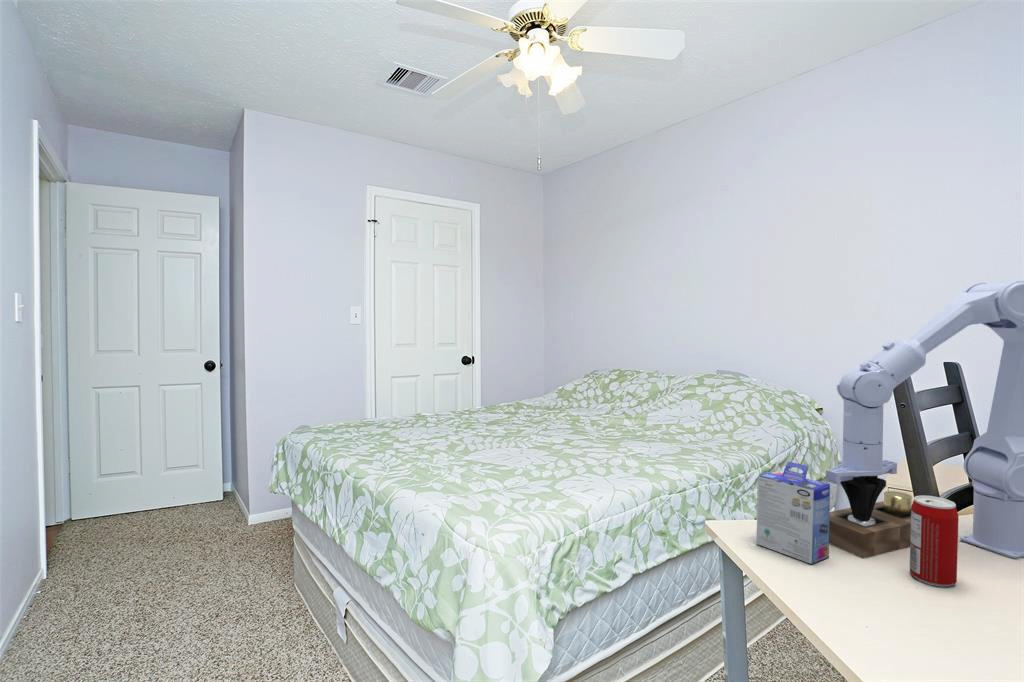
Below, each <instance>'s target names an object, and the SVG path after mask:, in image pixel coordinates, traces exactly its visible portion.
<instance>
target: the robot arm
mask: <svg viewBox="0 0 1024 682" xmlns="http://www.w3.org/2000/svg"><path fill="white" fill-rule="evenodd" d="M980 324H981V325H984V326H986V327H988V328H990V329H991V330H992V331H993V332H994V333H995V334H996V335H997V336H998V337H999V338H1001V339H1002V341H1003V344H1002V350H1001V355H1000V361H999V365H998V366H999V367H998V371H997V376H996V383H995V387H994V393H993V397H992V398H993V399H992V401H991V408H990V413H989V418H988V424H987V429H986V432H985V433H983V434H981V435H980V436H977V437H976V438H975V439H974V440H973V445H972V447H971V450H970V451H969V452H968V453H967V454H966V456H965V459H964V461H963V470H964V472H965V474H966V476H967V477H968V478H970V480H971V486H972V487H973V507H972V508H973V510H972V533H970V534H965V535H963V536H962V535H961V536H959V540H960V541H963V542H965V543H968V544H971V545H974V546H977V547H979V548H982V549H985V550H989V551H992V552H995V553H997V554H1000V555H1004V556H1006V557H1009V558H1012V559H1019V558H1021V557H1024V280H1023V279H1022V280H1021V279H1020V280H1014V281H1007V282H994V283H993V282H991V283H986V282H979V283H974V284H971V285H970V286H968V287H967V288H966V289H965V290H963V292H960V293H959V294H957V295H955V296H954V297H953V298H952V300H951V302H950V303H949V304H948V305H947V306H946V307H945V308H943V309H942V310H941V311H940V312H939V313H938V314H936V315H935V317H933V318H932V319H931V320H930V321H928V322H927V323H926V324H925V325H924V326H923V327H921V328H920V329H919V330H918V331H917V332H916V333H914V334H913V335H912V336H911V337H910V338H909V339H908V340H907V339H906V340H905V339H895V340H894V341H886V342H885V343H884V344H883V345H882V346H881V347H882V348H883V350H881V351H880V352H878V353H877V354H876V355H874V356H873V357H872V358H870V359H869V360H868V361H862V362H861V363H860V364H859V366H860V368H859V369H851V370H849V371H847V372H845V373H844V374H843V375H842V377H841V379H840V381H839V384H837V385H836V391H837V394H838V396H840V398H841V399H842V400H843V412H842V413H843V414H842V415H843V418H842V422H843V423H842V425H843V426H842V429H843V430H842V460H838V461H837V465H836V466H834V467H832V468H828V469H826V470H825V480H826V482H827V483H832V484H835V485H839V484H840V485H841V487H842V489H843V490H844V492H845V494H846V497H847V499H848V503H849V505H850V507H849V508H851V510H852V514H853V517H854V518H856V519H859V520H862V521H868V520H870V518H871V515H872V511H873V508H874V506H875V503H877V500H878V498H879V496H880V494H881V493H882V492H883V490H884V489H885V488H886V486H887V480H885V479H883V478H879V477H878V476H882V475H886V474H890V475H896V474H897V473H898V463H897V462H894V461H891V460H888V459H887V460H886V459H884V460H883V456H884V455H883V454H884V453H883V450H884V448H883V447H884V404H887V403H889V401H890V400H891V399H892V396H893V392H894V389H896V388H897V387H898V386H900V384H901V383H903V382H904V381H906V380H907V379H908V378H909V377H911V376H912V375H914V374H915V373H916V372H918V371H919V370H920V369H921V368H923V367H924V366H925V365H926V362H927V361H926V358H927V356H926V355H927V354H928V353H930V352H931V351H933V350H934V349H937V347H939V346H940V345H942V344H944V343H945V342H947V341H948V340H949V339H951V338H952V337H954V336H955V335H957V334H958V333H960V332H961V331H963V330H964V329H966V328H967V327H969V326H972V325H980Z"/></svg>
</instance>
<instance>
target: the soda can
mask: <svg viewBox="0 0 1024 682" xmlns="http://www.w3.org/2000/svg"><path fill="white" fill-rule="evenodd" d="M958 544H959V513H958V509H957V505H956V503H955V502H954V501H951V500H950V499H947V498H943V497H939V496H934V495H916V496H914V497H913V501H912V506H911V539H910V547H909V548H910V549H909V572H910V573H911V575H912V576H913V577H914V578H915V579H916V580H917V581H919V582H921V583H924V584H927V585H930V586H934V587H942V588H944V587H945V588H948V587H952V586H953V585H954V584H956V583H957V579H958V578H957V577H958V555H959V553H958V549H959V548H958Z"/></svg>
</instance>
